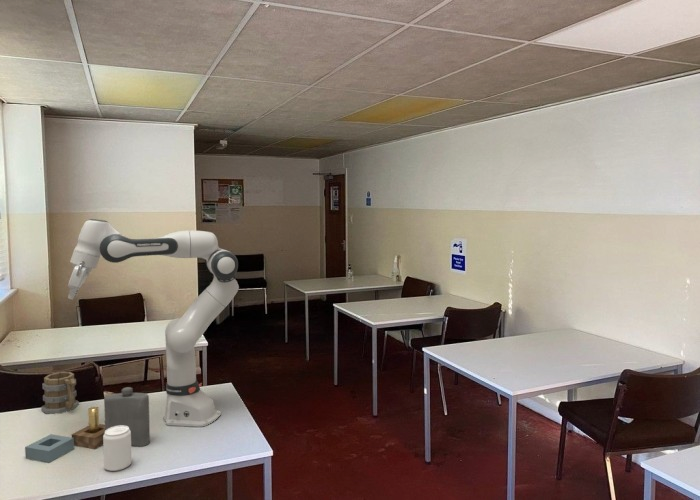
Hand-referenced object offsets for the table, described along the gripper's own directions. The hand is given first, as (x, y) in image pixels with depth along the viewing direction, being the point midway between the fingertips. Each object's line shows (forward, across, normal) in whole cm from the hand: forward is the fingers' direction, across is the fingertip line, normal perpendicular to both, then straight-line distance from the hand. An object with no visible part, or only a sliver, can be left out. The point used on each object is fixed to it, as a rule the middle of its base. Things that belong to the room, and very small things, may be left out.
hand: (72, 296), depth 179 cm
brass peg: (+47, -10, -22) cm, 53 cm away
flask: (+43, -16, -33) cm, 57 cm away
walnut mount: (+47, -10, -22) cm, 53 cm away
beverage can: (+44, -32, -31) cm, 63 cm away
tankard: (+51, +27, -9) cm, 58 cm away
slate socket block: (+51, -14, -10) cm, 54 cm away
